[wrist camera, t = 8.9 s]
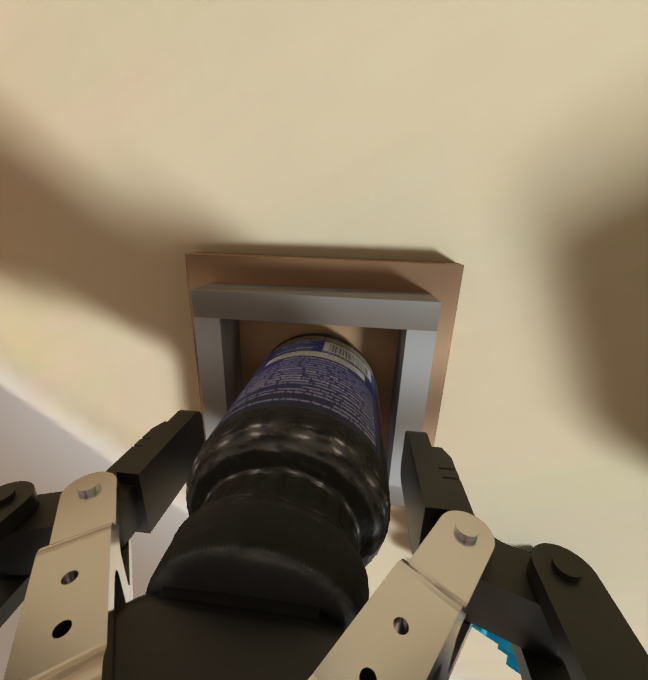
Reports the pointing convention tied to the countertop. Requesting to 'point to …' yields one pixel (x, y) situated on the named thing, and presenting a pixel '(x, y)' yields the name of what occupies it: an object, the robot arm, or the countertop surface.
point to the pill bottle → (289, 486)
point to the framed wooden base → (328, 329)
